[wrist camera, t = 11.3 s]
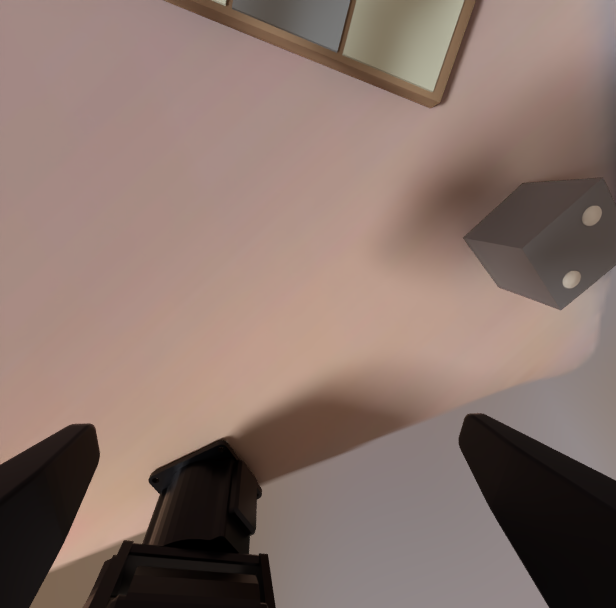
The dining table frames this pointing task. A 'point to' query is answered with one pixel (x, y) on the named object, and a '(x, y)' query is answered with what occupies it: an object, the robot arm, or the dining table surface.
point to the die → (549, 239)
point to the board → (358, 36)
